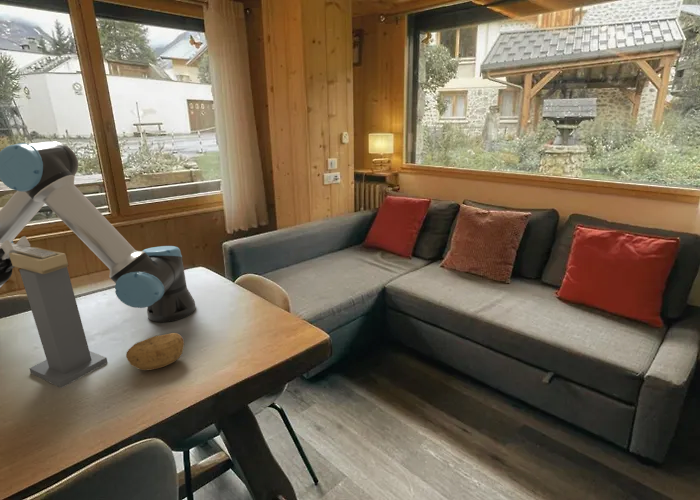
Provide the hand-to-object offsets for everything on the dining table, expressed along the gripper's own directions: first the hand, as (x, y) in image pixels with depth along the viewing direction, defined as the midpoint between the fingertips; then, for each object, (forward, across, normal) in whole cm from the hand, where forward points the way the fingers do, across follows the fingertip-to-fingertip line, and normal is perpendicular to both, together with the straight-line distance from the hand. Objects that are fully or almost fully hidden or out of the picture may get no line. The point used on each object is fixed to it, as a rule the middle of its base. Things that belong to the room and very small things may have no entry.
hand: (17, 243), depth 102 cm
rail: (-1, 0, -4) cm, 5 cm away
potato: (+8, -11, -44) cm, 46 cm away
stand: (-10, 0, -34) cm, 35 cm away
